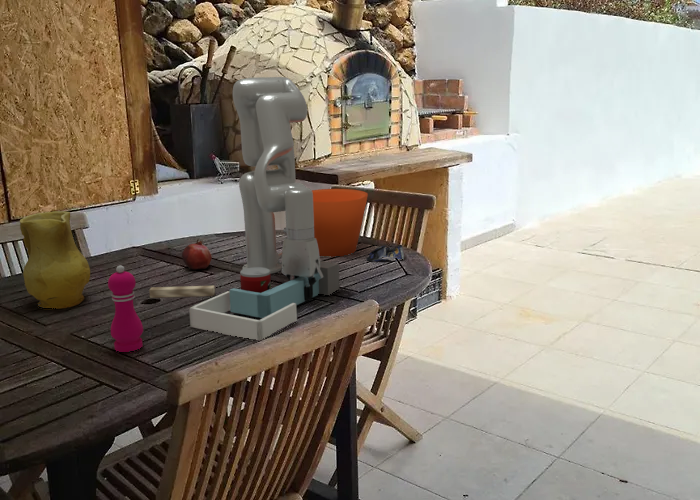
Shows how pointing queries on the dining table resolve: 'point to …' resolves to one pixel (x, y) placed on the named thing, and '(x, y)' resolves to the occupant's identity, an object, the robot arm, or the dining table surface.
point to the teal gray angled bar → (283, 293)
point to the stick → (182, 291)
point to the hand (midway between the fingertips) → (303, 297)
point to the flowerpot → (338, 220)
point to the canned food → (255, 279)
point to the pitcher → (53, 260)
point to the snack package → (386, 253)
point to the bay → (238, 319)
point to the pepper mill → (124, 312)
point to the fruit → (196, 256)
